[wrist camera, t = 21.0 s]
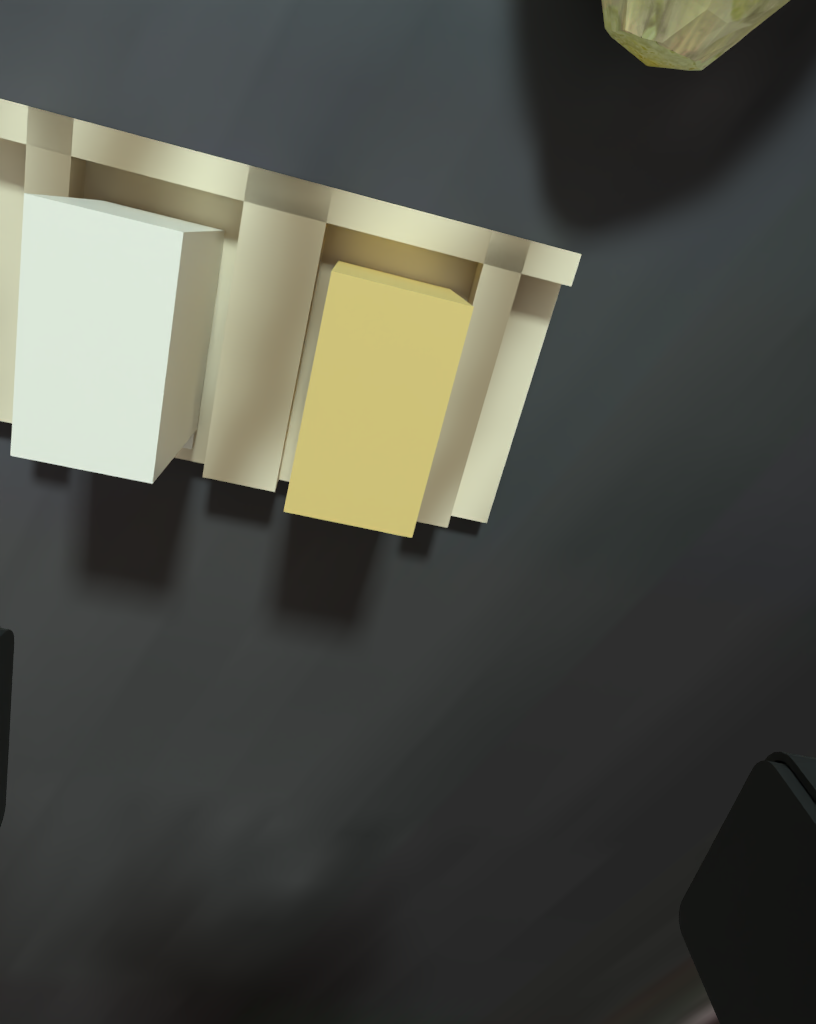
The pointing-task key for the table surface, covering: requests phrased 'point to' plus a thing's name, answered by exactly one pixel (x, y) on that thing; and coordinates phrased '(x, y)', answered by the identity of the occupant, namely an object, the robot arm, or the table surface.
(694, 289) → the table surface
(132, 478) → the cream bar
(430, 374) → the ochre bar
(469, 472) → the slot board
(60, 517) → the table surface
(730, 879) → the robot arm
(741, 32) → the lettuce
